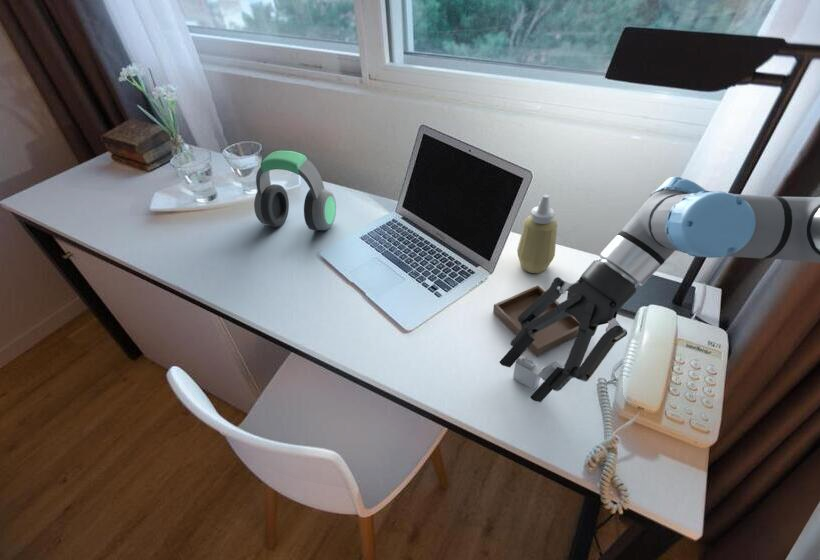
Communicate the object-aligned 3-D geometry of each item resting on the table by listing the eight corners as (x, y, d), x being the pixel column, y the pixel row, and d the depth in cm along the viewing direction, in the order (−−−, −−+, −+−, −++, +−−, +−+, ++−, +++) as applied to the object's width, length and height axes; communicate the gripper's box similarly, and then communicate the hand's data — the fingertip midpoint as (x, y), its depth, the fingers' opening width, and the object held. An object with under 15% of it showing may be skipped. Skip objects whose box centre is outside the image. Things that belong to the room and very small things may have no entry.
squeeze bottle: (520, 278, 95) (531, 208, 83) (511, 256, 101) (520, 187, 89) (557, 275, 95) (573, 204, 83) (545, 253, 101) (558, 184, 89)
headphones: (258, 233, 113) (234, 162, 100) (277, 211, 121) (256, 143, 108) (326, 240, 109) (310, 167, 96) (340, 216, 117) (327, 146, 104)
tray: (582, 333, 82) (585, 325, 81) (536, 357, 78) (538, 349, 77) (536, 293, 91) (538, 285, 89) (492, 312, 87) (493, 304, 86)
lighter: (512, 377, 75) (517, 348, 70) (517, 371, 76) (523, 341, 71) (550, 399, 72) (558, 370, 66) (554, 392, 73) (563, 363, 67)
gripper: (682, 320, 61) (572, 432, 66) (578, 247, 75) (494, 344, 80) (670, 307, 56) (551, 429, 61) (560, 231, 69) (471, 337, 75)
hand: (519, 381), depth 71 cm, fingers closed on lighter, 7 cm apart
